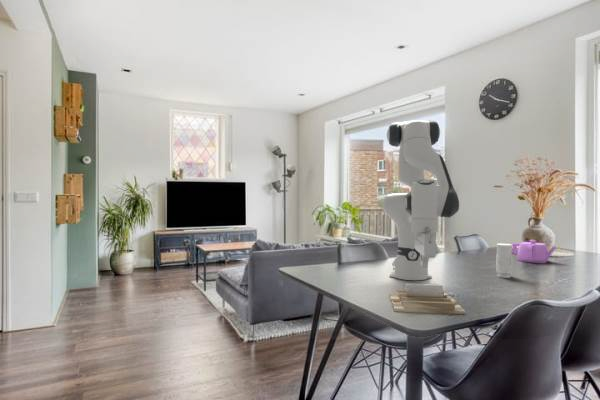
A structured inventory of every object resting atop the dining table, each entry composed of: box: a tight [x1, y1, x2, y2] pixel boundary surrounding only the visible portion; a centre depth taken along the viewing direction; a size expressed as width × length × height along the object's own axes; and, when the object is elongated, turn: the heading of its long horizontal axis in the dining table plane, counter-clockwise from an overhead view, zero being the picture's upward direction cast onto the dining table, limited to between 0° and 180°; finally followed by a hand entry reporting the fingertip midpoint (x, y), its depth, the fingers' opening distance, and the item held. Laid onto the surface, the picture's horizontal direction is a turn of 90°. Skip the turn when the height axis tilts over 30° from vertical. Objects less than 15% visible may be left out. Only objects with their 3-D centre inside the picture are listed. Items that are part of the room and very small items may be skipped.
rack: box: [388, 289, 466, 315], centre depth 130 cm, size 18×22×3 cm
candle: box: [495, 243, 514, 279], centre depth 177 cm, size 7×7×15 cm
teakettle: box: [512, 239, 557, 264], centre depth 220 cm, size 17×17×12 cm
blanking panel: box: [405, 282, 444, 298], centre depth 130 cm, size 12×2×6 cm, turn 82°
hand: (424, 266), depth 130 cm, fingers closed
